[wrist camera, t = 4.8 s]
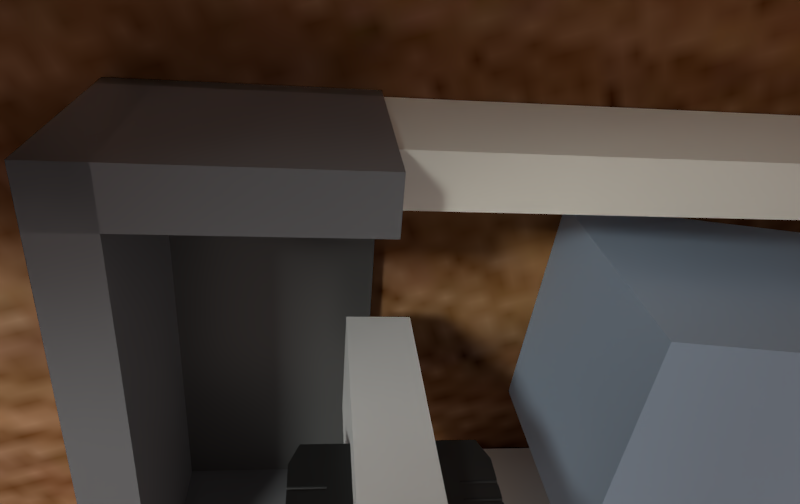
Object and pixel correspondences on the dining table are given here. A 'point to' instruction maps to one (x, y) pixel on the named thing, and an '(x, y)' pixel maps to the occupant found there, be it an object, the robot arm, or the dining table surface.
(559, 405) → the painted block
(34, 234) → the bin
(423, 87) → the dining table surface
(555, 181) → the channel
